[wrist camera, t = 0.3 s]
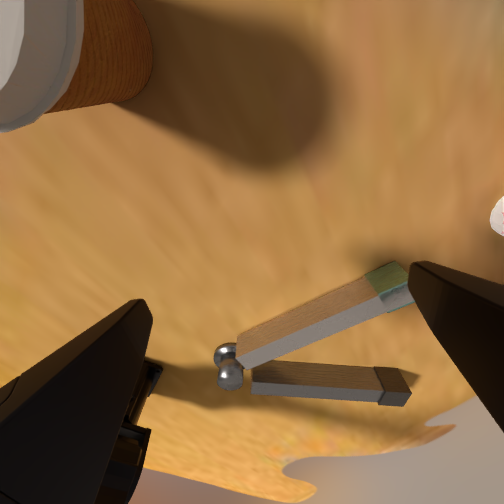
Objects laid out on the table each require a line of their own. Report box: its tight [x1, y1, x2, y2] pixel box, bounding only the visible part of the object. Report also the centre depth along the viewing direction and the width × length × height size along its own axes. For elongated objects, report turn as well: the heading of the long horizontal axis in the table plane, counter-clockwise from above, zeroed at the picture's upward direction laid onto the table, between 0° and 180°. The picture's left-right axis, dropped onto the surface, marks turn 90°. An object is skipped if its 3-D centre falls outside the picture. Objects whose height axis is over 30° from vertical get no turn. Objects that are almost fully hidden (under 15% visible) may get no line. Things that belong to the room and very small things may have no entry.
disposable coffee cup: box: [0, 0, 153, 133], centre depth 11 cm, size 10×10×12 cm
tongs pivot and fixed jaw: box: [214, 343, 412, 407], centre depth 29 cm, size 23×5×4 cm, turn 85°
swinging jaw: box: [235, 261, 415, 370], centre depth 25 cm, size 18×3×3 cm, turn 123°
